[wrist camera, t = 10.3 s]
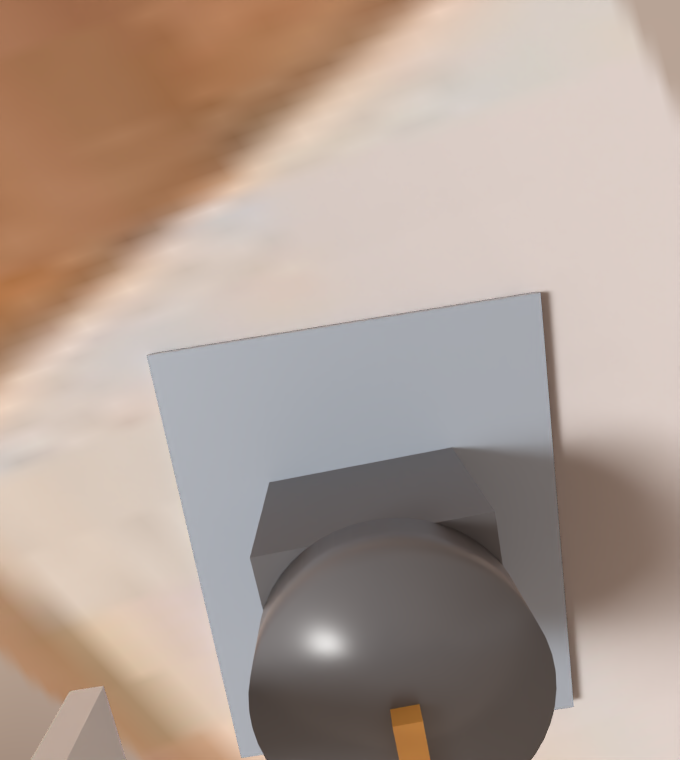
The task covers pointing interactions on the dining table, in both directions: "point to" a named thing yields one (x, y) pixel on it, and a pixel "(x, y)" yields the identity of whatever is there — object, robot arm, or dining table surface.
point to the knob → (392, 621)
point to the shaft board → (363, 446)
